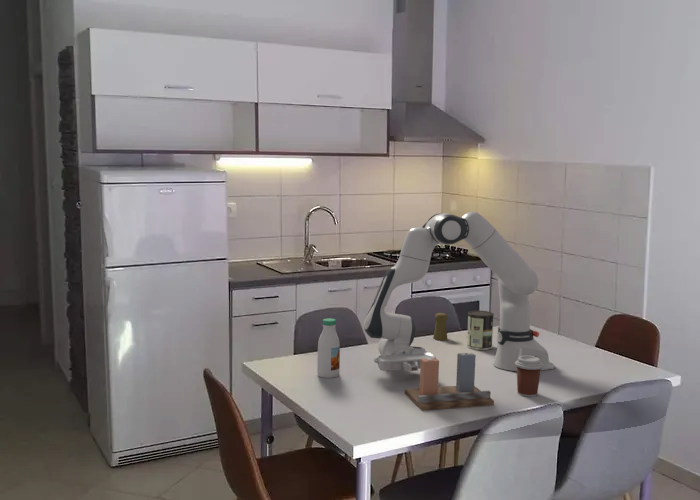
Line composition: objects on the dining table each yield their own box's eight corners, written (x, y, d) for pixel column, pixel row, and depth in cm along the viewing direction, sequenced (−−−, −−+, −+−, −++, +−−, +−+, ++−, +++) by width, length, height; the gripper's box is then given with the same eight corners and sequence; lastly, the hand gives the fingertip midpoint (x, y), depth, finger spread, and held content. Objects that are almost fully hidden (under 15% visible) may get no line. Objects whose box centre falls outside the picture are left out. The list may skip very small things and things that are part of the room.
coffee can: (489, 343, 304) (491, 310, 302) (494, 350, 294) (495, 316, 292) (464, 343, 304) (466, 309, 302) (468, 349, 294) (469, 315, 292)
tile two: (470, 388, 242) (471, 352, 240) (473, 391, 239) (475, 354, 237) (456, 389, 240) (457, 352, 239) (459, 392, 237) (461, 355, 236)
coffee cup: (529, 400, 236) (531, 364, 234) (507, 392, 243) (509, 357, 242) (547, 395, 241) (549, 359, 240) (525, 387, 249) (527, 353, 247)
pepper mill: (446, 341, 307) (448, 315, 306) (432, 340, 308) (433, 314, 307) (448, 337, 313) (449, 312, 311) (433, 336, 314) (434, 311, 313)
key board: (472, 388, 246) (473, 378, 245) (493, 405, 230) (494, 394, 230) (404, 393, 240) (405, 383, 239) (421, 410, 224) (422, 399, 224)
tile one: (434, 394, 235) (435, 357, 233) (437, 397, 232) (439, 360, 230) (419, 395, 233) (420, 358, 232) (422, 398, 230) (424, 360, 229)
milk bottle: (323, 379, 252) (324, 322, 250) (313, 373, 259) (314, 318, 256) (343, 376, 256) (344, 320, 253) (333, 370, 263) (334, 316, 260)
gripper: (372, 349, 255) (385, 361, 242) (427, 347, 261) (442, 357, 247) (372, 367, 256) (384, 379, 243) (427, 364, 262) (442, 375, 248)
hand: (414, 368), depth 245 cm, fingers closed
